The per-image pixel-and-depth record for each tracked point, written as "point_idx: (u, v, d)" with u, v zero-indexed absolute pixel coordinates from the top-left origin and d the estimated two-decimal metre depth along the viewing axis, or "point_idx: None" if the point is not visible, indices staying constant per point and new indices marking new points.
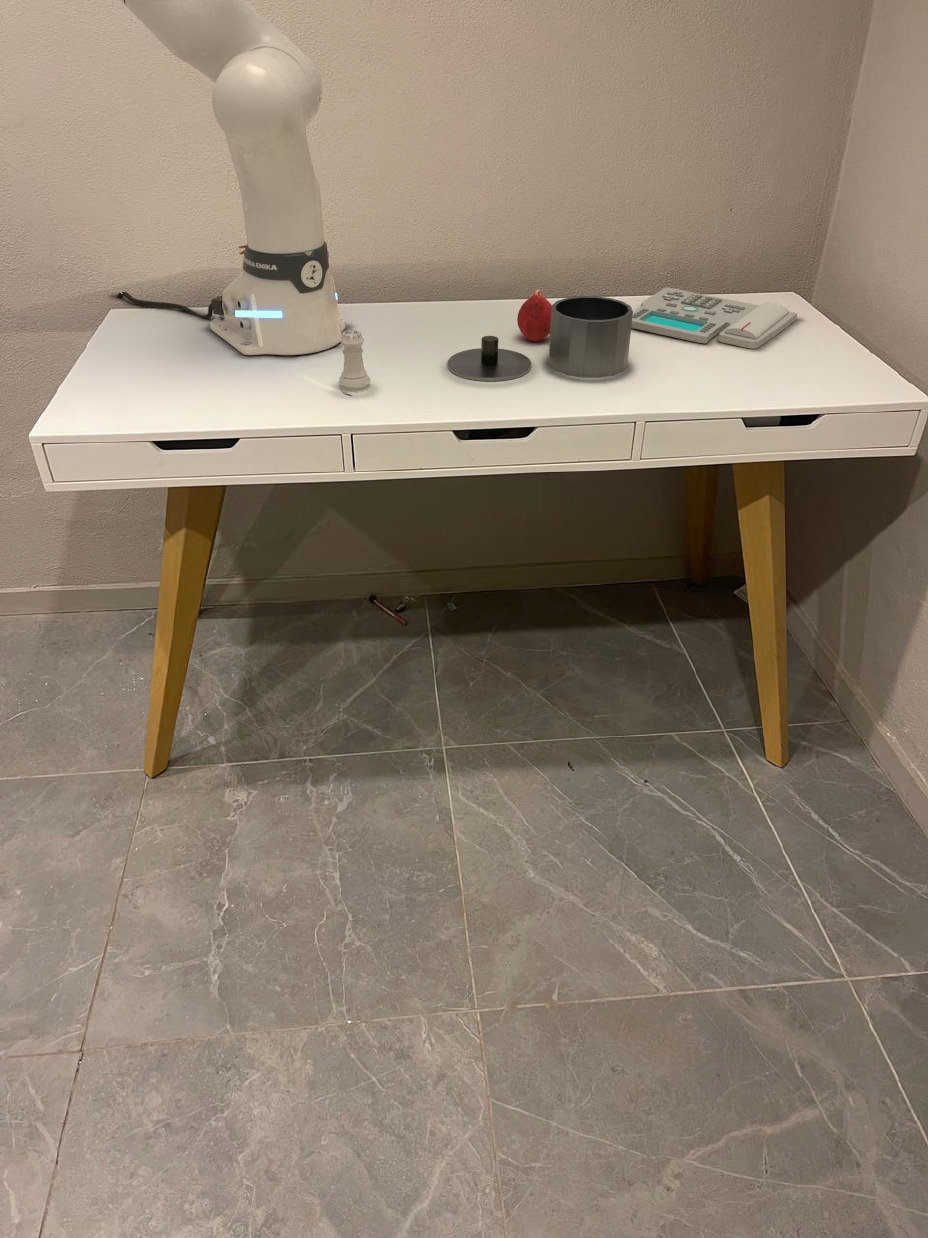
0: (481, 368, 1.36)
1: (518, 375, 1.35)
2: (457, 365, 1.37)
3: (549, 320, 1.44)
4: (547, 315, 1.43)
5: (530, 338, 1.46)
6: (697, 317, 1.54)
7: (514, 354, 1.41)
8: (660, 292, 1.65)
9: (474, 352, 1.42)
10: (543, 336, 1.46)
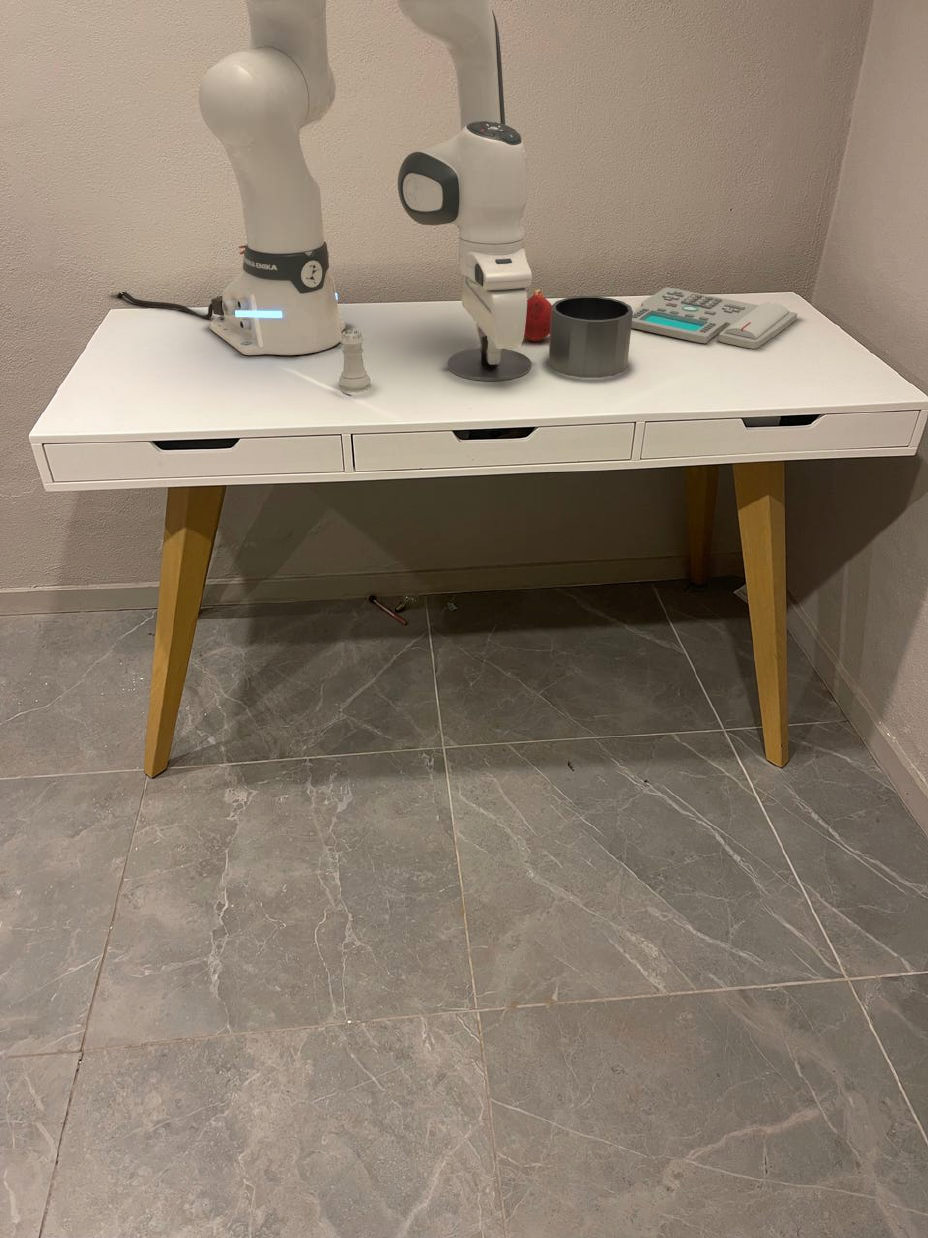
0: (481, 367, 1.36)
1: (518, 375, 1.35)
2: (457, 365, 1.37)
3: (549, 320, 1.44)
4: (547, 315, 1.43)
5: (530, 338, 1.46)
6: (697, 317, 1.54)
7: (514, 354, 1.41)
8: (660, 292, 1.65)
9: (474, 352, 1.42)
10: (543, 336, 1.46)
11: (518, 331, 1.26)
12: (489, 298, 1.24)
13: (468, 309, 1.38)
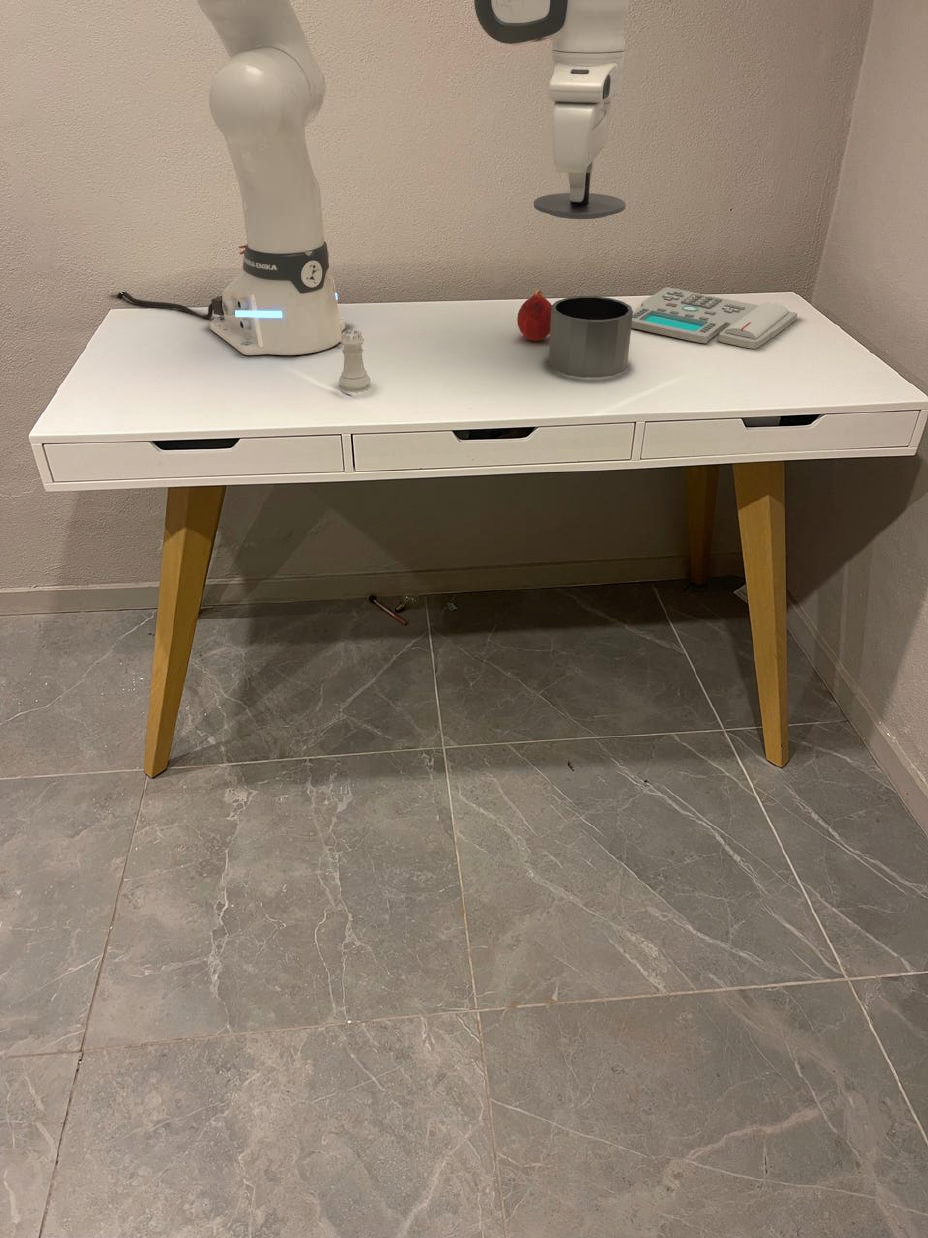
0: (564, 204, 1.26)
1: (593, 214, 1.22)
2: (543, 200, 1.28)
3: (549, 320, 1.44)
4: (547, 315, 1.43)
5: (530, 338, 1.46)
6: (697, 317, 1.54)
7: (615, 200, 1.28)
8: (660, 292, 1.65)
9: None
10: (543, 336, 1.46)
11: (578, 152, 1.14)
12: (553, 110, 1.14)
13: None
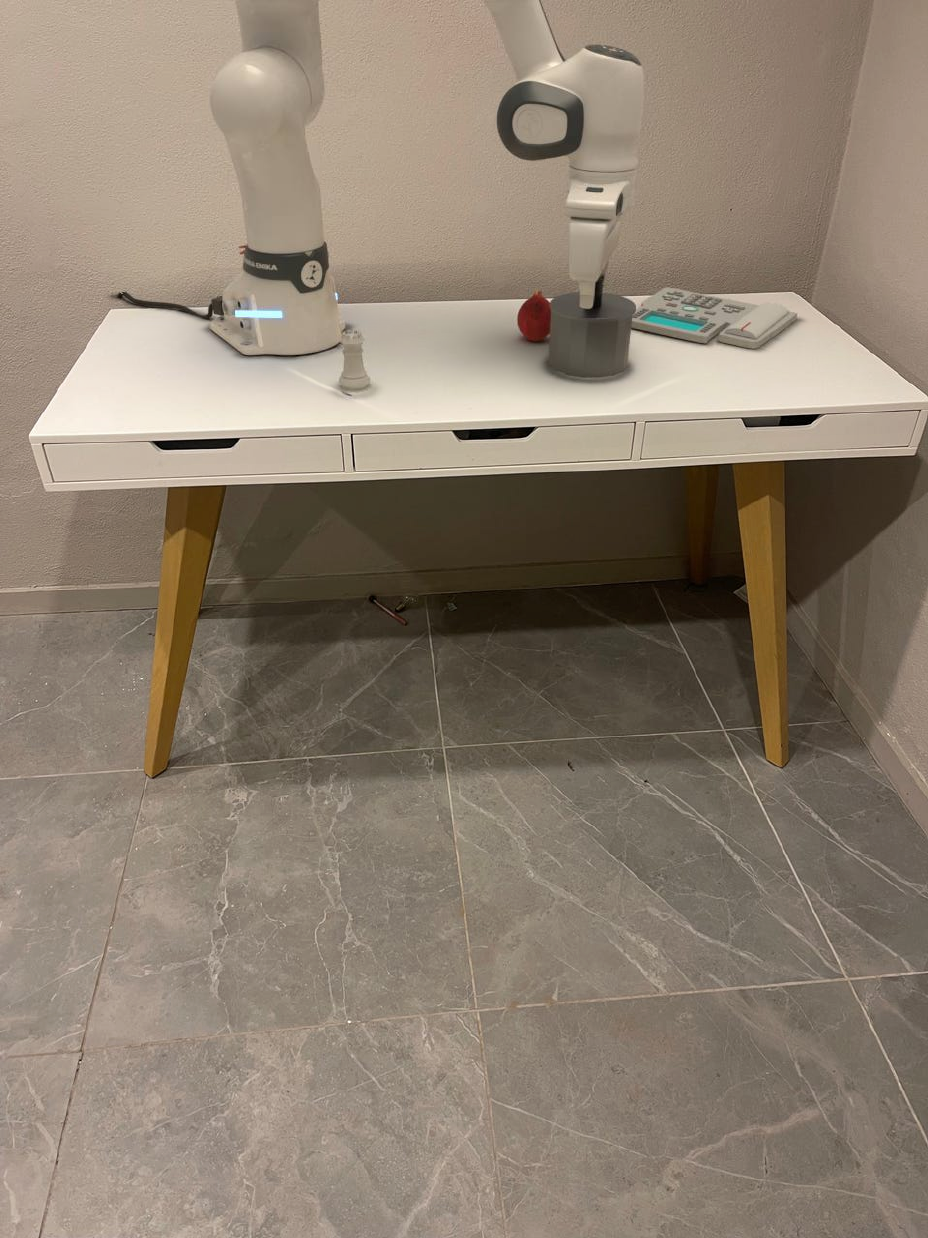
0: (578, 307, 1.34)
1: (606, 319, 1.30)
2: (558, 301, 1.36)
3: (549, 320, 1.44)
4: (547, 315, 1.43)
5: (530, 338, 1.46)
6: (697, 317, 1.54)
7: (626, 302, 1.36)
8: (660, 292, 1.65)
9: None
10: (543, 336, 1.46)
11: (592, 264, 1.22)
12: (569, 225, 1.22)
13: None
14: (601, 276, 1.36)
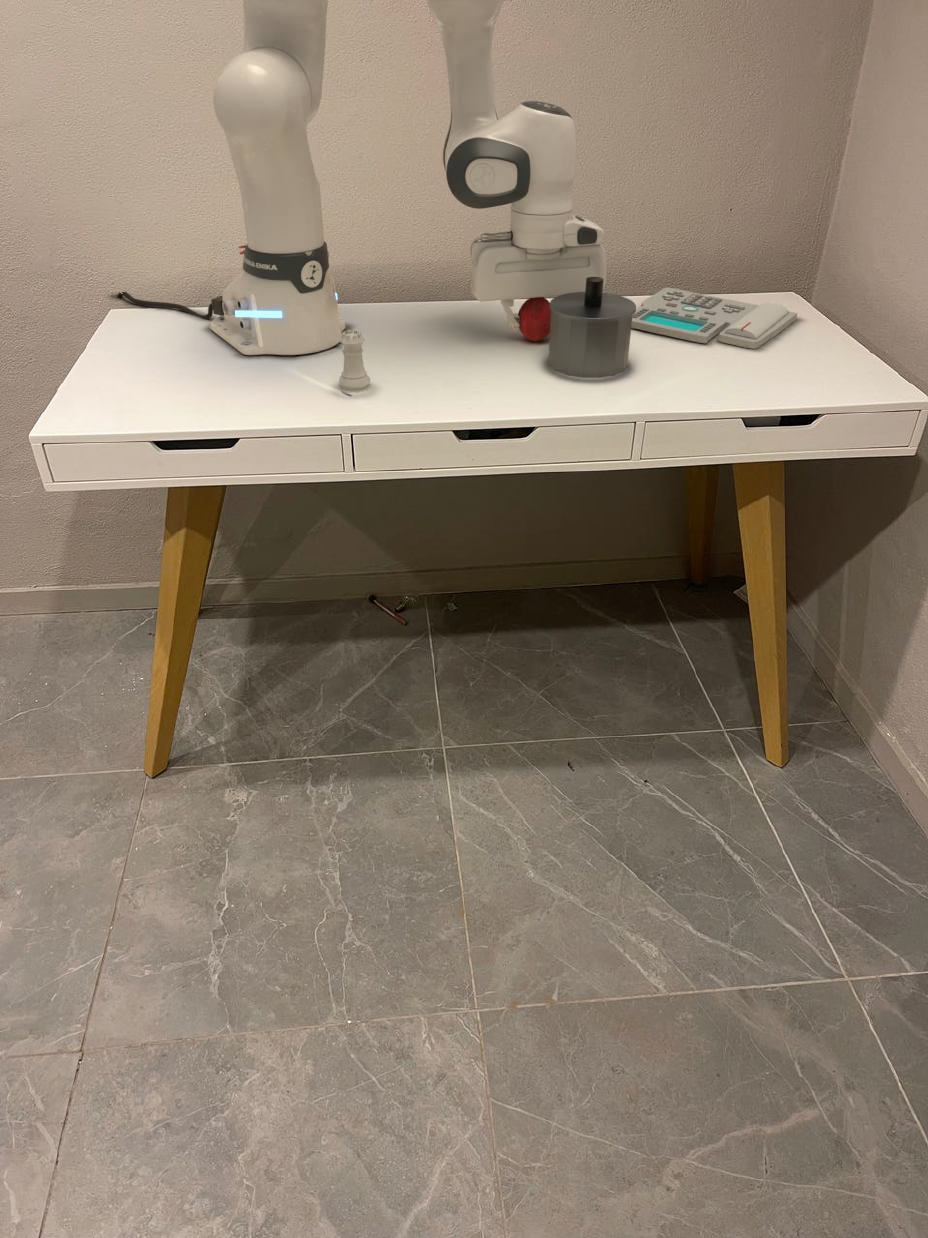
0: (578, 307, 1.34)
1: (606, 319, 1.30)
2: (558, 301, 1.36)
3: (549, 320, 1.44)
4: (547, 315, 1.43)
5: (530, 338, 1.46)
6: (697, 317, 1.54)
7: (626, 302, 1.36)
8: (660, 292, 1.65)
9: None
10: (543, 336, 1.46)
11: None
12: (600, 250, 1.40)
13: (508, 294, 1.41)
14: (517, 314, 1.45)
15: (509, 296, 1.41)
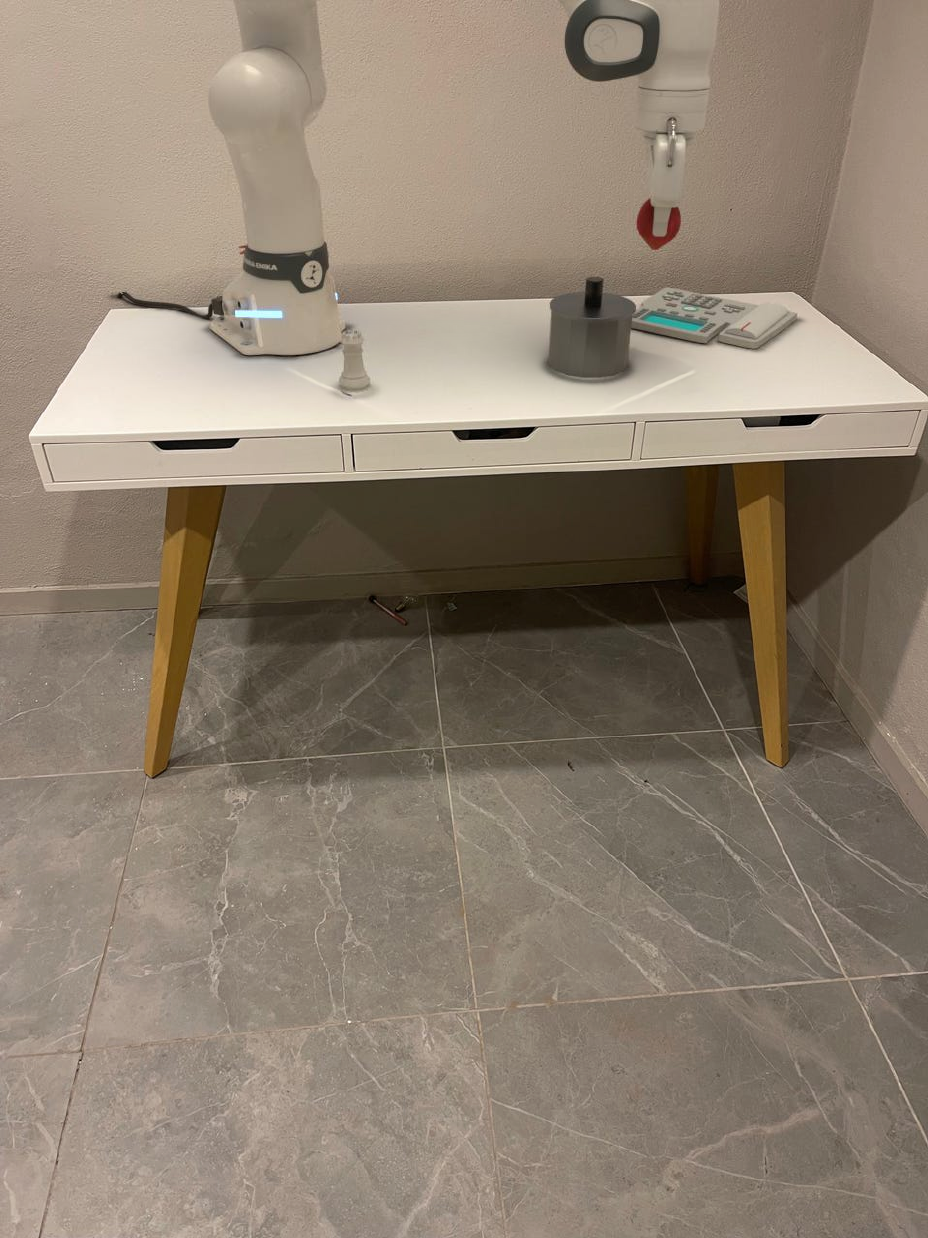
0: (578, 307, 1.34)
1: (606, 319, 1.30)
2: (558, 301, 1.36)
3: None
4: None
5: (666, 242, 1.29)
6: (697, 317, 1.54)
7: (626, 302, 1.36)
8: (660, 292, 1.65)
9: None
10: None
11: None
12: None
13: None
14: None
15: None
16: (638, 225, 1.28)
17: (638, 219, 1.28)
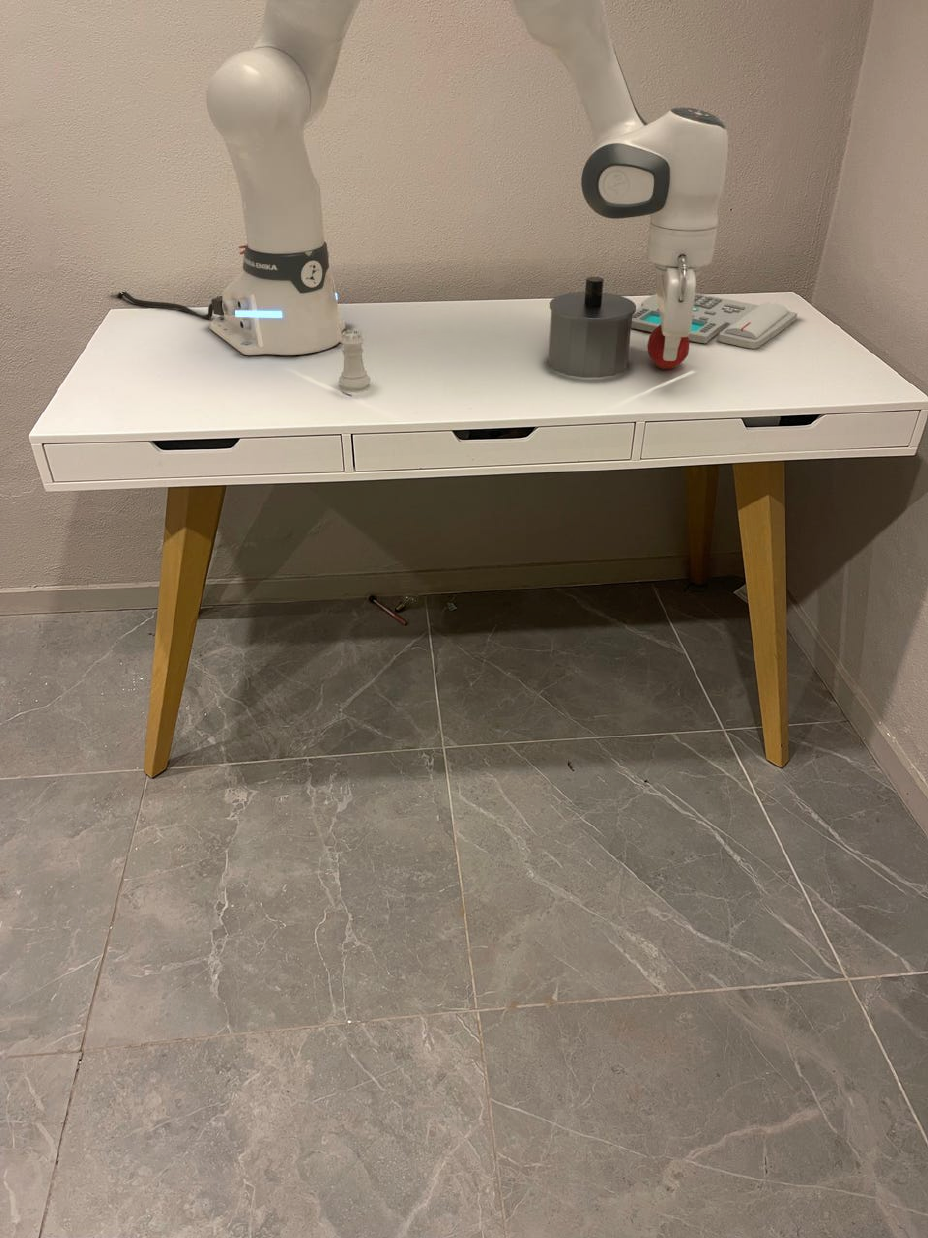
0: (578, 307, 1.34)
1: (606, 319, 1.30)
2: (558, 301, 1.36)
3: None
4: None
5: (676, 365, 1.37)
6: (697, 317, 1.54)
7: (626, 302, 1.36)
8: None
9: None
10: None
11: None
12: None
13: None
14: None
15: None
16: (649, 350, 1.36)
17: (649, 344, 1.36)
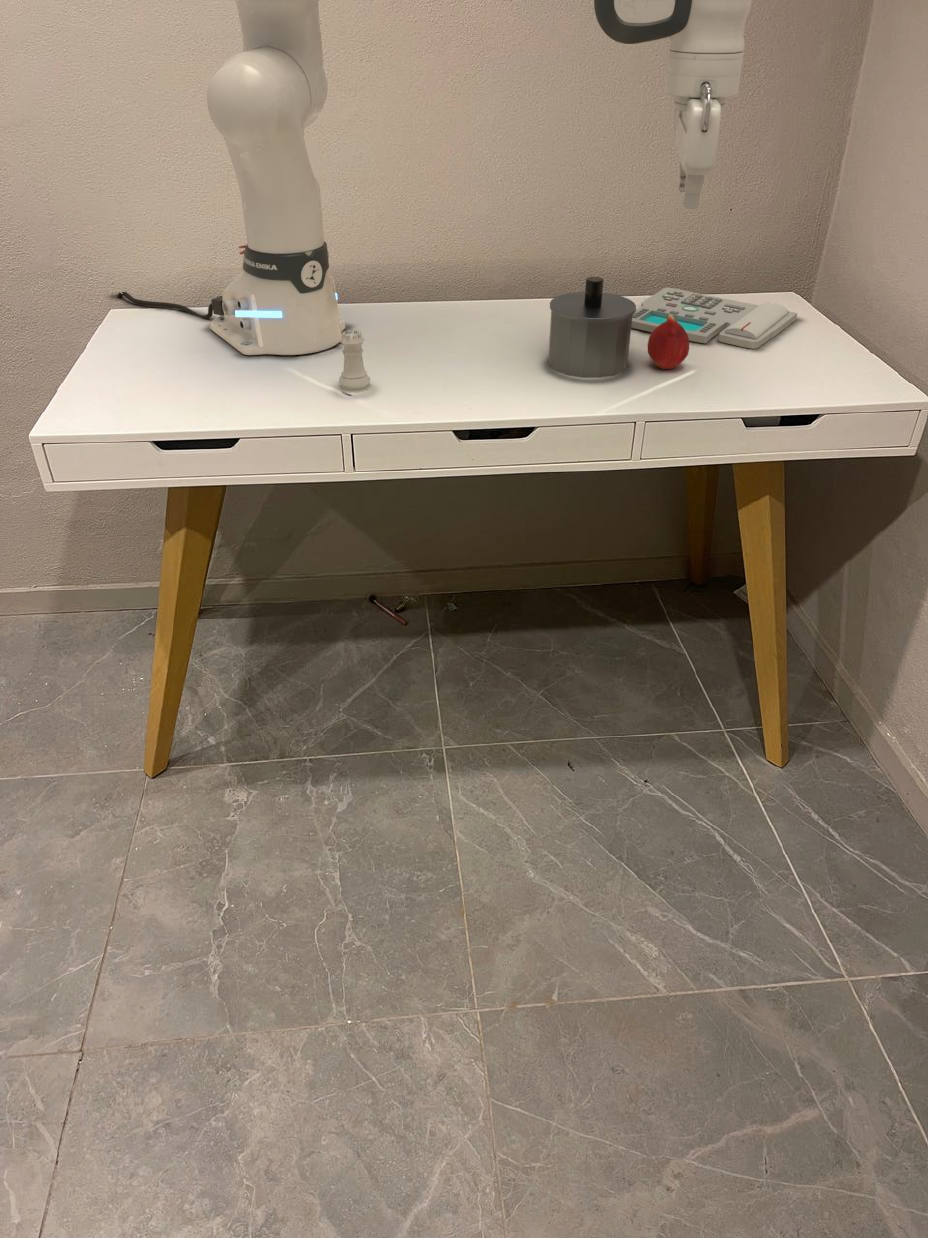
0: (578, 307, 1.34)
1: (606, 319, 1.30)
2: (558, 301, 1.36)
3: None
4: None
5: (676, 365, 1.37)
6: (697, 317, 1.54)
7: (626, 302, 1.36)
8: (660, 292, 1.65)
9: None
10: None
11: None
12: None
13: None
14: None
15: None
16: (649, 350, 1.36)
17: (649, 344, 1.36)
